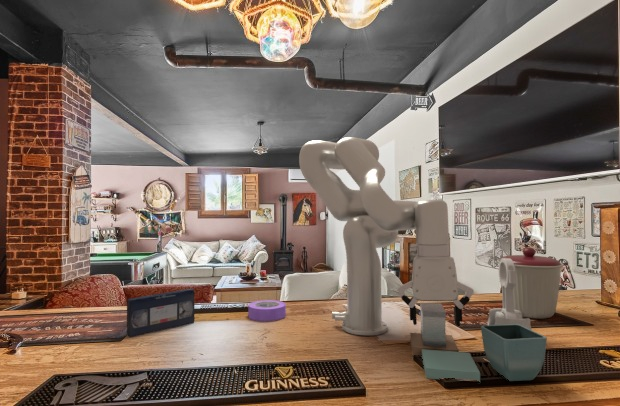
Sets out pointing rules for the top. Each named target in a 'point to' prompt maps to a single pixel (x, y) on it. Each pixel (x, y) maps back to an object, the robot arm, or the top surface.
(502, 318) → the engine component
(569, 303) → the top surface
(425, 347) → the stand
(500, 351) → the flower pot
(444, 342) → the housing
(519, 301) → the canister
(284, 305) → the masking tape
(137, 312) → the vhs cassette tape
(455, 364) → the stand
